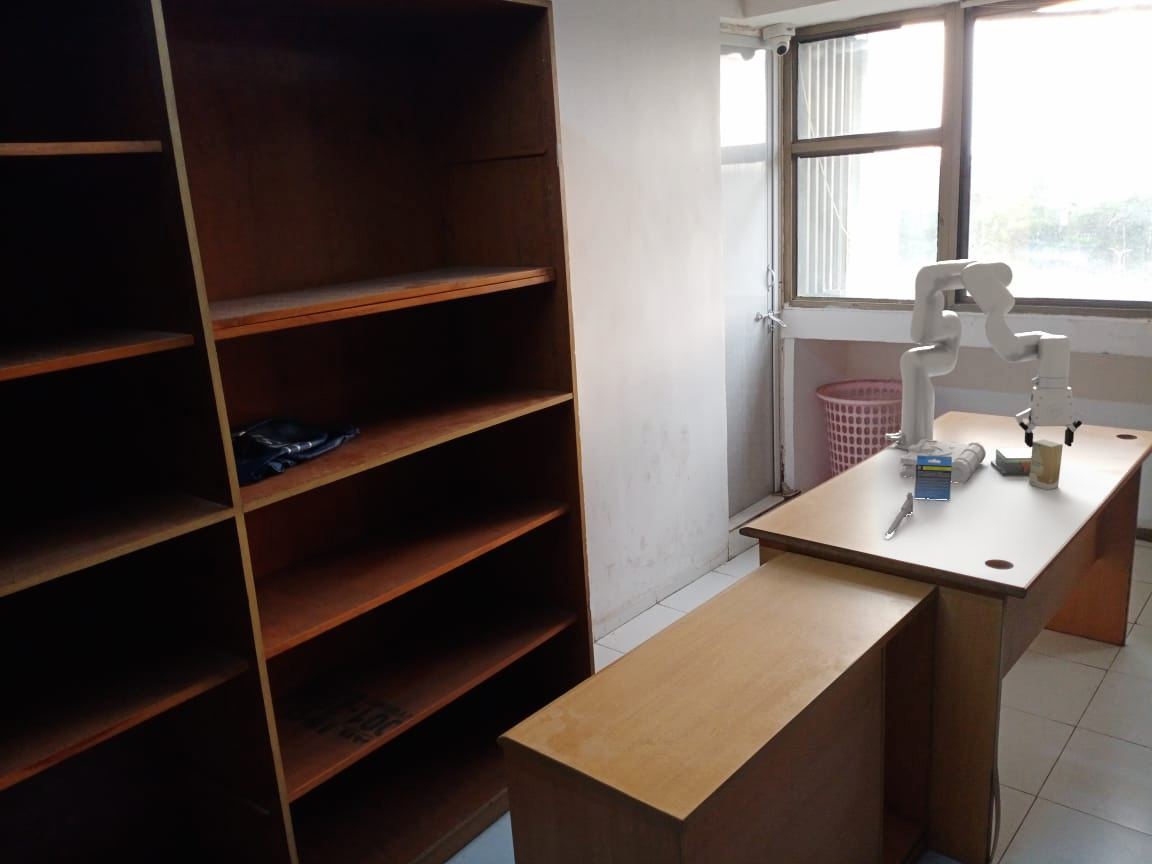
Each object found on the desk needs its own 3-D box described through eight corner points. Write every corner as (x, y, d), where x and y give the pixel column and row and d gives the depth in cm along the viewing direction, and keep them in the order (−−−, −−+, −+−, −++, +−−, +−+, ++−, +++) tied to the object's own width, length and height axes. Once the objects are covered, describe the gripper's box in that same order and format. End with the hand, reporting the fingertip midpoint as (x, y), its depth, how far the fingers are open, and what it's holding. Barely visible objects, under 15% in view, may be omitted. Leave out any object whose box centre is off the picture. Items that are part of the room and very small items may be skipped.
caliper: (908, 514, 236) (909, 490, 235) (913, 514, 236) (913, 491, 234) (884, 540, 220) (885, 515, 219) (889, 540, 219) (889, 515, 218)
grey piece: (1002, 476, 261) (1003, 459, 259) (990, 463, 272) (991, 447, 271) (1048, 475, 259) (1049, 458, 257) (1034, 463, 270) (1035, 447, 269)
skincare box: (1027, 484, 253) (1031, 441, 250) (1039, 481, 254) (1042, 438, 251) (1048, 490, 247) (1051, 446, 244) (1059, 487, 249) (1063, 443, 246)
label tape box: (949, 496, 247) (951, 452, 243) (950, 501, 243) (952, 456, 240) (914, 495, 249) (915, 451, 246) (914, 500, 245) (916, 455, 242)
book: (989, 460, 277) (990, 435, 275) (967, 486, 255) (968, 459, 253) (922, 454, 288) (923, 430, 286) (896, 478, 266) (896, 453, 264)
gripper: (1021, 386, 241) (1018, 449, 245) (1093, 384, 238) (1088, 448, 242) (1012, 381, 248) (1009, 442, 252) (1082, 378, 246) (1078, 441, 250)
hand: (1048, 445), depth 247 cm, fingers open, 9 cm apart
